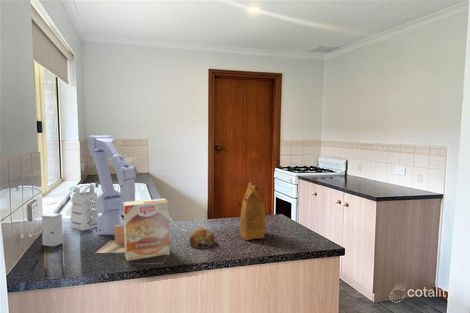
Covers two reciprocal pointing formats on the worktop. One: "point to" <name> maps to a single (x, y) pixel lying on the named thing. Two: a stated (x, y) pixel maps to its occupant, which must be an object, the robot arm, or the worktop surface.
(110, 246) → the mat
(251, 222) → the coffee package
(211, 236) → the bread roll
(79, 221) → the grater
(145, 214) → the coffeecake box
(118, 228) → the tile
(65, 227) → the worktop surface
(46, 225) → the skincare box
